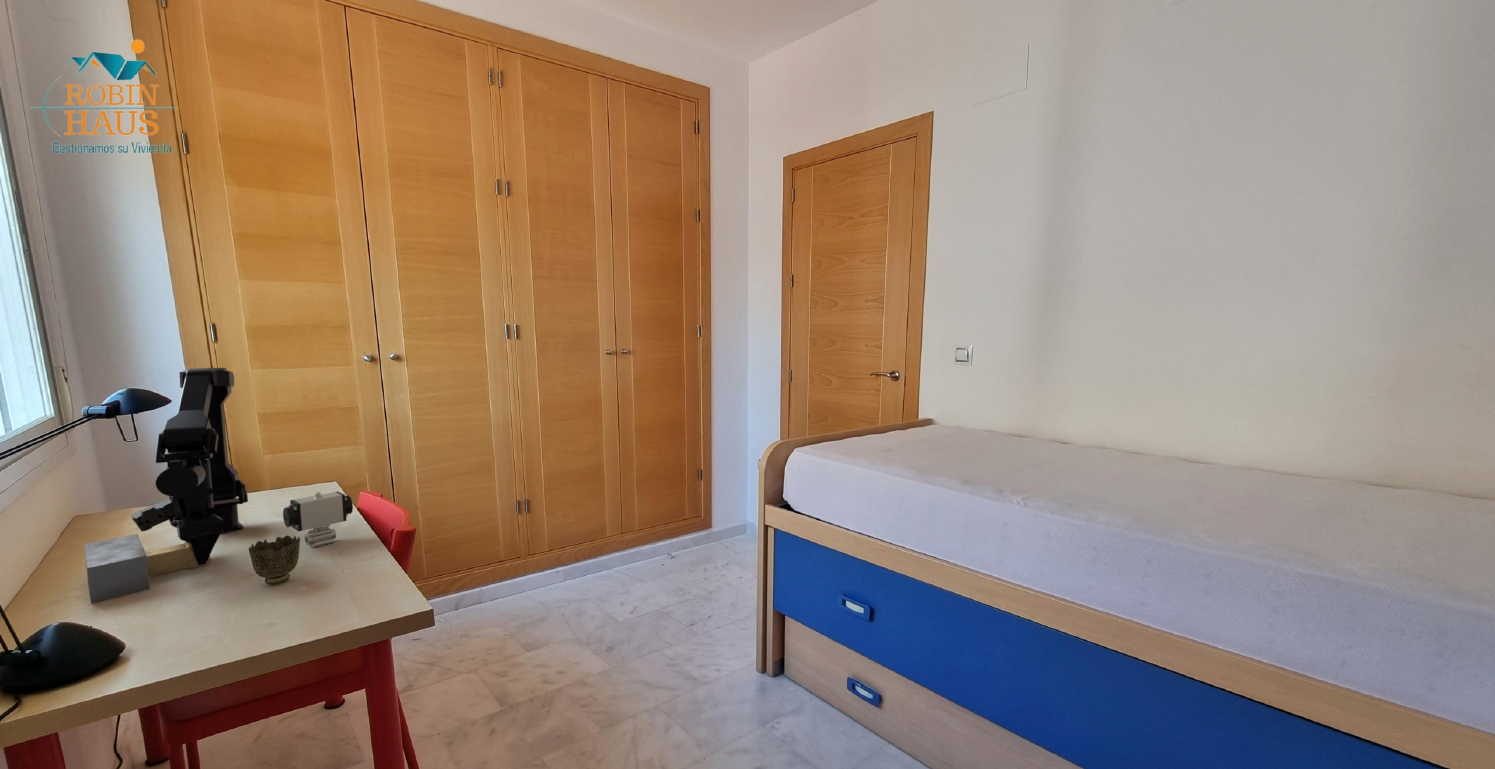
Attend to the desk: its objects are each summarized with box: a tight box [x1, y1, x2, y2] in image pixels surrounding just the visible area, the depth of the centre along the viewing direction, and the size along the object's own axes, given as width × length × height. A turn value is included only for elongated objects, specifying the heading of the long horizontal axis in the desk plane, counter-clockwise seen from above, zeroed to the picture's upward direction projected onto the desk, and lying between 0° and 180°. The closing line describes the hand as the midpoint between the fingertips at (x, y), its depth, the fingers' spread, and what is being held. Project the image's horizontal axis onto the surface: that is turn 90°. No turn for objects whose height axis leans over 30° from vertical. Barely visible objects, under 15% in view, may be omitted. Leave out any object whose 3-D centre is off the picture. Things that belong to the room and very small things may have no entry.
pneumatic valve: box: [282, 491, 354, 548], centre depth 123 cm, size 6×12×12 cm, turn 144°
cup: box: [248, 534, 301, 586], centre depth 103 cm, size 8×7×8 cm
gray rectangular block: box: [83, 533, 151, 605], centre depth 103 cm, size 7×18×6 cm, turn 52°
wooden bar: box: [145, 541, 212, 577], centre depth 107 cm, size 15×5×5 cm, turn 142°
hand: (198, 558), depth 112 cm, fingers open, 9 cm apart
